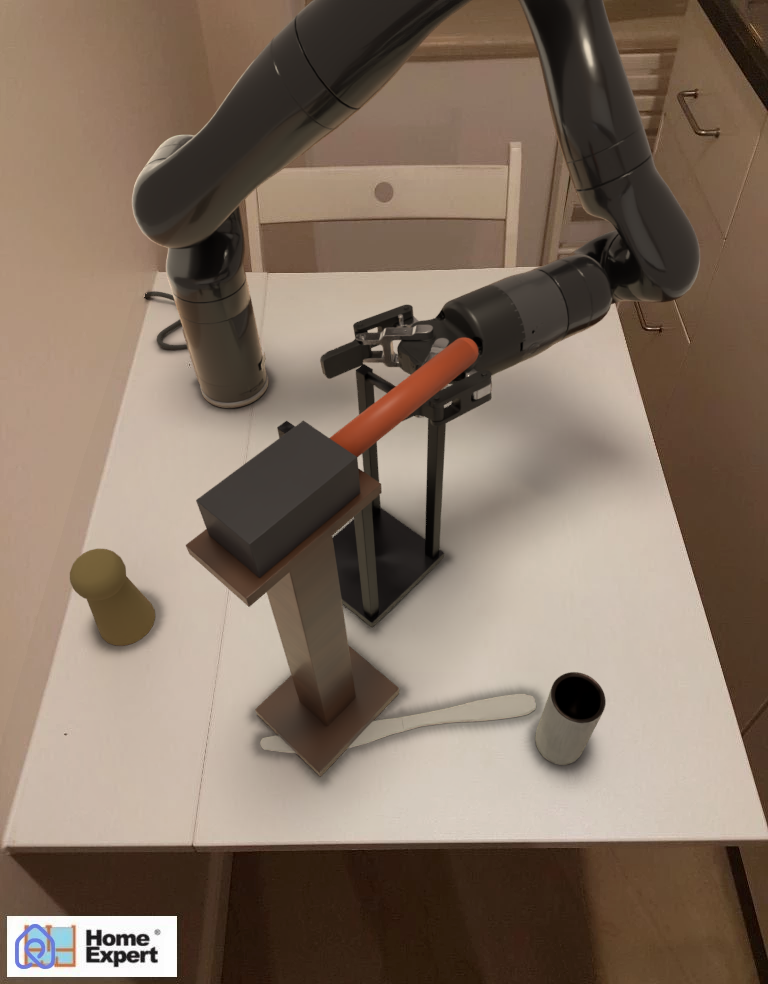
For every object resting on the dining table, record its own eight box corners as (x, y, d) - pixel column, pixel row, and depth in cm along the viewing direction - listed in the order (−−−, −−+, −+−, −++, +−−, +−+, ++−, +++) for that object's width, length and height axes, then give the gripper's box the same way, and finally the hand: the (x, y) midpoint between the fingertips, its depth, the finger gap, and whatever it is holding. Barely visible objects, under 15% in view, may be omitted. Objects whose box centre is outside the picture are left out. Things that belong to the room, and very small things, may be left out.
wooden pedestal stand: (253, 718, 71) (170, 532, 47) (339, 635, 76) (305, 431, 52) (316, 781, 67) (262, 613, 43) (402, 689, 72) (397, 494, 48)
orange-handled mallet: (208, 534, 46) (195, 500, 44) (446, 349, 57) (448, 312, 54) (259, 578, 44) (249, 544, 41) (497, 377, 55) (501, 340, 52)
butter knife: (540, 720, 69) (532, 690, 71) (260, 762, 68) (259, 731, 70) (539, 722, 70) (532, 692, 71) (261, 764, 68) (260, 733, 70)
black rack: (301, 570, 81) (270, 427, 64) (373, 507, 87) (363, 359, 69) (372, 627, 76) (360, 491, 59) (444, 557, 82) (453, 412, 64)
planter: (586, 726, 69) (609, 680, 61) (579, 772, 66) (601, 730, 58) (540, 712, 70) (556, 665, 62) (530, 756, 67) (546, 713, 59)
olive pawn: (141, 650, 76) (107, 596, 67) (88, 640, 76) (48, 585, 68) (164, 601, 79) (134, 543, 71) (113, 592, 80) (77, 534, 72)
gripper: (458, 256, 67) (301, 317, 62) (556, 324, 58) (381, 401, 53) (460, 325, 72) (316, 386, 68) (550, 397, 63) (391, 473, 59)
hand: (345, 393), depth 60 cm, fingers open, 8 cm apart
